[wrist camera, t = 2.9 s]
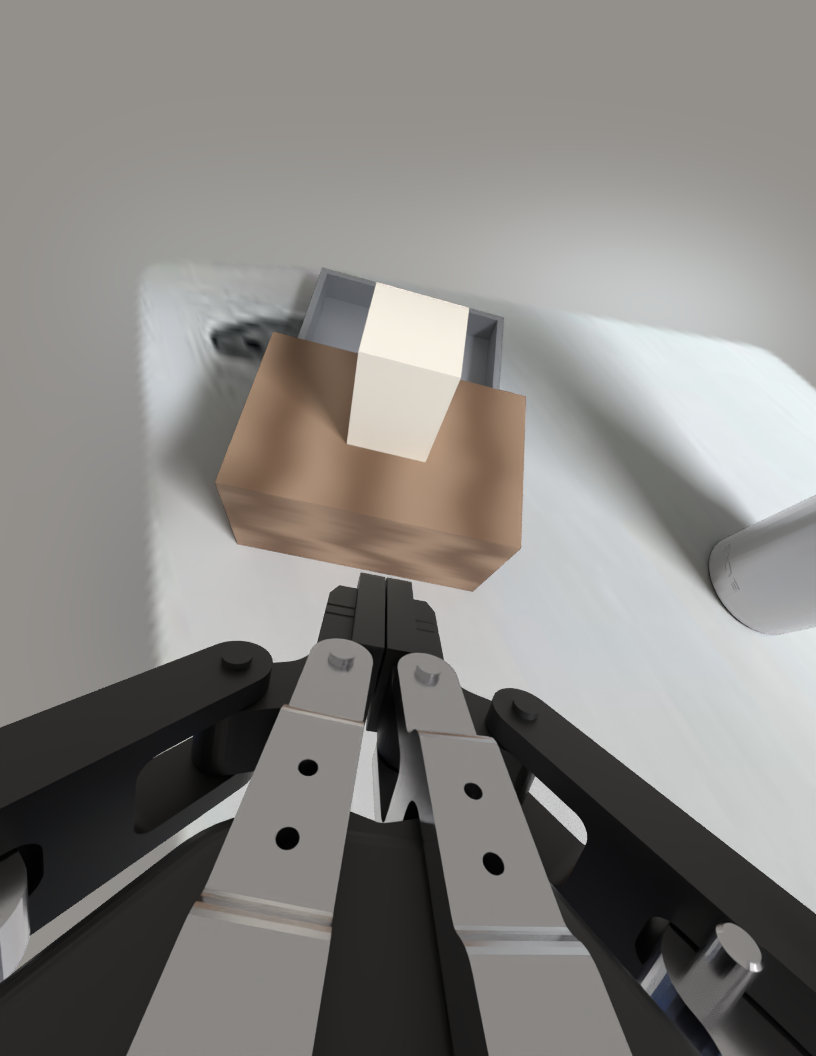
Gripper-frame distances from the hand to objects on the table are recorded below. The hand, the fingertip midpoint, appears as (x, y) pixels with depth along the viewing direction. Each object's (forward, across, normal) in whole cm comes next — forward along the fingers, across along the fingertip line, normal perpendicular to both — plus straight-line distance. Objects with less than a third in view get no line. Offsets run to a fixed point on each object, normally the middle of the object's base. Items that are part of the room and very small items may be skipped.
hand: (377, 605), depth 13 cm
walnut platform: (+24, 0, +4) cm, 24 cm away
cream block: (+18, 0, -3) cm, 18 cm away
